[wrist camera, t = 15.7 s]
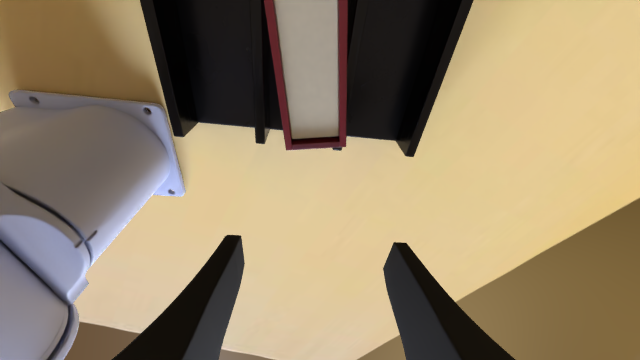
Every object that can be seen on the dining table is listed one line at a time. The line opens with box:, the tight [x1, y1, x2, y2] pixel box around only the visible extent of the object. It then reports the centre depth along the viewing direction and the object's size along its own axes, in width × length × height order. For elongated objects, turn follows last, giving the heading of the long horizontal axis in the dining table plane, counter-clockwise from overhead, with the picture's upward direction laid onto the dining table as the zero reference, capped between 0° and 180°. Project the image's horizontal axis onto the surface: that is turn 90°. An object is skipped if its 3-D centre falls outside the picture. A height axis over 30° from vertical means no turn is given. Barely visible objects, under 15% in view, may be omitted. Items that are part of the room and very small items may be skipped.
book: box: [264, 0, 348, 150], centre depth 11 cm, size 3×10×6 cm, turn 3°
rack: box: [140, 0, 473, 157], centre depth 13 cm, size 16×14×3 cm
